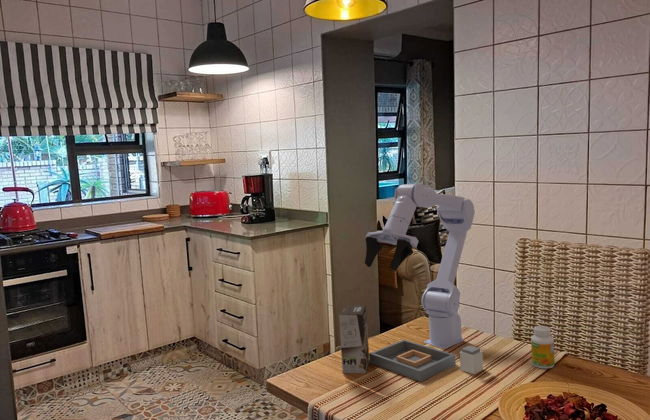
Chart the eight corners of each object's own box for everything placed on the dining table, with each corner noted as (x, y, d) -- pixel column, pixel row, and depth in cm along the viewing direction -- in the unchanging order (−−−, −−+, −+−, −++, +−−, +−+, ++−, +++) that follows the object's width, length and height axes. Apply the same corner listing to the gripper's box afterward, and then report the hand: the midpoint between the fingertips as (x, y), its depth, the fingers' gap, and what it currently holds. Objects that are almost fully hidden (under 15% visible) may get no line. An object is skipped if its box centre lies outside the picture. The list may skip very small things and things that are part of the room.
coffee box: (366, 374, 132) (362, 314, 131) (342, 374, 134) (337, 314, 132) (370, 361, 141) (366, 304, 140) (347, 360, 143) (343, 304, 141)
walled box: (404, 349, 148) (404, 339, 148) (455, 365, 134) (455, 354, 134) (369, 363, 139) (369, 353, 139) (420, 383, 125) (419, 371, 125)
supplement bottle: (528, 366, 131) (527, 329, 130) (536, 359, 134) (535, 323, 134) (550, 370, 127) (549, 333, 126) (557, 363, 131) (556, 326, 130)
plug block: (469, 366, 133) (468, 344, 132) (483, 371, 130) (482, 348, 129) (460, 371, 130) (459, 348, 130) (473, 376, 127) (472, 352, 127)
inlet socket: (412, 353, 143) (412, 349, 143) (431, 359, 138) (431, 355, 138) (396, 360, 139) (396, 356, 139) (415, 367, 134) (414, 362, 134)
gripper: (368, 212, 136) (349, 255, 130) (417, 215, 127) (398, 262, 121) (380, 226, 140) (361, 269, 135) (427, 231, 131) (409, 276, 125)
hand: (379, 267), depth 128 cm, fingers open, 7 cm apart
